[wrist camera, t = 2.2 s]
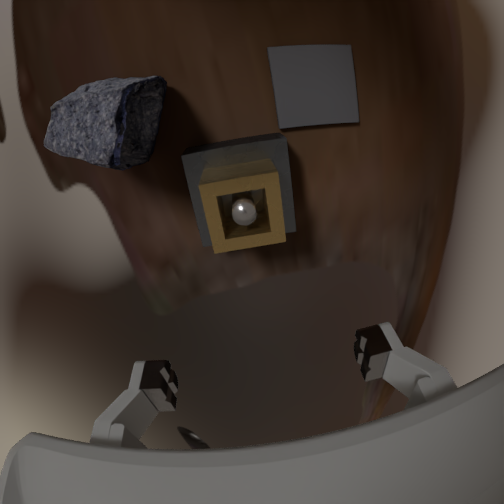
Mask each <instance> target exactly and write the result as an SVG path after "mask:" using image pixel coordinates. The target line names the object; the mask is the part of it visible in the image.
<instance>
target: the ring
mask: <svg viewBox="0 0 504 504" xmlns="http://www.w3.org/2000/svg"><path fill="white" fill-rule="evenodd" d="M257 189H262V194H263V201H264V208H265V210H261V211H256V214H257V215H256V219H255V220H254V222H252V223H251V224H249V225H239V224H237V223H236V222H235V221H234V219H233V216H232V215H231V216H225V211H224V206H223V201H222V196H221V195H227V194H233V193H239V192H244V191H251V190H257ZM199 190H200V194H201V199H202V203H203V207H204V212H205V216H206V220H207V225H208V229H209V233H210V237H211V241H212V245H213V249H214V254H215V253H221V252H227V251H233V250H239V249H245V248H251V247H257V246H263V245H270V244H276V243H282V242H286V236H285V226H284V217H283V208H282V200H281V191H280V183H279V175H278V171H277V169H276V168H275V166H274V164H273V163H272V161H271V159H263V160H257V161H250V162H244V163H238V164H232V165H227V166H221V167H216V168H210V169H205V170H203V173H202V176H201V179H200V182H199Z"/></svg>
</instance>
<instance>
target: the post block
mask: <svg viewBox="0 0 504 504" xmlns="http://www.w3.org/2000/svg"><path fill="white" fill-rule="evenodd" d="M181 157H182V162H183V166H184V171H185V175H186V179H187V183H188V188H189V192H190V196H191V200H192V204H193V209H194V213H195V217H196V221H197V225H198V229H199V233H200V236H201V240H202V244H203V247H205V246H211V245H212V241H211V237H210V233H209V229H208V225H207V220H206V216H205V212H204V207H203V203H202V199H201V194H200V190H199V182H200V179H201V176H202V173H203V170H205V169H210V168H216V167H221V166H227V165H232V164H238V163H244V162H250V161H257V160H263V159H271V161H272V163H273V164H274V166H275V168H276V169H277V171H278V175H279V183H280V191H281V200H282V208H283V217H284V226H285V233H289V232H296V223H295V213H294V202H293V192H292V183H291V173H290V165H289V156H288V147H287V139H286V137H285V136H283V135H282V134H281V133H272V134H265V135H258V136H251V137H245V138H238V139H232V140H227V141H221V142H216V143H210V144H205V145H200V146H195V147H191V148H187V149H186V150H185V151H184V153H183V154H182V155H181ZM221 196H222V201H223V206H224V211H225V216H231V215H232V216H233V219H234V221H235V222H236V223H237V224H239V225H249V224H251V223H252V222H254V220H255V219H256V215H257V214H256V211H261V210H265V208H264V201H263V194H262V189H257V190H251V191H244V192H239V193H233V194H227V195H221Z"/></svg>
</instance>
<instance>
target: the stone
mask: <svg viewBox="0 0 504 504" xmlns="http://www.w3.org/2000/svg"><path fill="white" fill-rule="evenodd" d="M166 84H167V82H166V81H165V80H164V79H163V77H161V76H151V77H147V78H134V77H130V78H127V79H121V78H109V79H106V80H101V81H96V82H94V83H89V84H85V85H82V86H80V87H79V88H78V89H77V90H76V91H75V92H72V93H71V94H69V95H67V96H66V97H64V98H63V99H62V100H59V101H57V102H55V104H54V105H52V106H51V121H50V123H49V125H48V129H47V133H46V136H45V140H44V146H45V147H46V148H47V149H49V150H51V151H53V152H55V153H58V154H59V155H61V156H66V157H73V158H77V159H81V160H85V161H87V162H89V163H91V164H94V165H97V166H102V167H107V168H113V169H116V170H125V169H129V168H131V167H132V166H135V165H141V164H143V163H145V162H147V161H149V158H150V155H151V154H152V153H153V150H154V145H155V141H156V136H157V134H158V129H159V121H160V118H161V113H162V108H163V102H164V98H165V93H166ZM130 143H133V144H134V145H132V144H130Z"/></svg>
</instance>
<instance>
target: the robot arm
mask: <svg viewBox="0 0 504 504" xmlns="http://www.w3.org/2000/svg"><path fill="white" fill-rule="evenodd" d="M355 336H356V339H357V340H356V341H355V342H354V354H355V358H356V361H357V363H359V364H360V365H361V369H360V370H361V373H362V376H363V378H364V380H365V381H370V380H374V379H377V378H381V377H383V379H384V380H386V381H387V382H388V383H390V384H391V385H392V386H393V387H395V388H396V389H397V390H399V391H400V392H401V393H403V394H404V395H405V396H406V397H408V398H409V401H408V403H407V405H406V407H405V409H404V411H401V412H398V413H395V414H392V415H390V416H386V417H383V418H380V419H377V420H374V421H370V422H367V423H364V424H360V425H356V426H353V427H349V428H345V429H342V430H338V431H333V432H329V433H325V434H320V435H315V436H310V437H305V438H300V439H294V440H288V441H282V442H275V443H268V444H260V445H252V446H242V447H232V448H216V449H184V450H174V449H148V448H147V447H146V446H145V445H144V444H143V443H142V442H140V441H139V439H140V438H141V436H142V435H143V434H144V432H145V431H146V429H147V428H148V427H149V425H150V424H151V422H152V421H153V419H154V418H155V417H156V415H157V414H158V411H175V410H176V403H177V398H176V396H175V393H176V392H177V391H178V378H177V375H176V373H175V371H174V370H172V369H171V364H170V362H169V360H154V361H153V360H152V361H136V363H135V364H134V367H133V371H132V375H131V379H130V383H129V388H128V390H125V391H124V392H123V393H122V394H121V395H120V396H119V397H118V398H117V399H116V400H115V401H114V402H113V403H112V404H111V405H110V406H109V407H108V408H107V409H106V410H105V411H104V412H103V413H102V414H101V415H100V416H99V417H98V418H97V419H96V420H95V423H94V427H93V431H92V435H91V439H90V443H85V442H80V441H74V440H68V439H63V438H58V437H53V436H49V435H45V434H41V433H36V432H31V433H29V434H28V435H26V436H25V437H23V438H22V439H21V440H20V441H19V442H18V443H16V444H15V445H14V446H13V447H12V449H11V450H10V451H9V453H8V455H7V458H6V460H5V463H4V466H3V469H2V472H1V476H0V504H504V364H502V365H501V366H499V367H497V368H495V369H494V370H492V371H490V372H488V373H487V374H485V375H483V376H481V377H479V378H477V379H475V380H473V381H471V382H469V383H467V384H465V385H463V386H461V387H459V388H457V386H456V384H455V383H454V381H453V379H452V377H451V375H450V374H449V372H448V370H447V369H446V368H445V367H444V366H442V365H440V364H438V363H436V362H434V361H433V360H431V359H429V358H427V357H425V356H423V355H422V354H420V353H418V352H416V351H414V350H412V349H411V348H409V347H407V346H406V347H404V346H403V345H402V343H401V341H400V339H399V338H398V336H397V334H396V332H395V331H394V329H393V327H392V326H391V324H390V323H389V322H385V323H381V324H378V325H373V326H369V327H366V328H362V329H358V330H356V333H355Z"/></svg>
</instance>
